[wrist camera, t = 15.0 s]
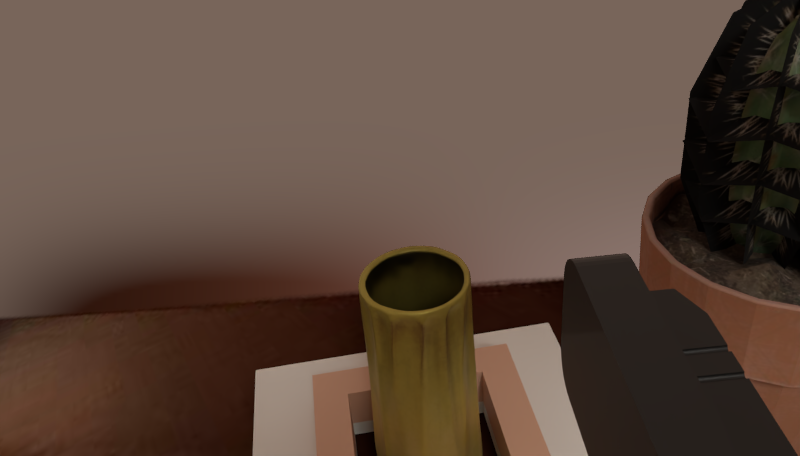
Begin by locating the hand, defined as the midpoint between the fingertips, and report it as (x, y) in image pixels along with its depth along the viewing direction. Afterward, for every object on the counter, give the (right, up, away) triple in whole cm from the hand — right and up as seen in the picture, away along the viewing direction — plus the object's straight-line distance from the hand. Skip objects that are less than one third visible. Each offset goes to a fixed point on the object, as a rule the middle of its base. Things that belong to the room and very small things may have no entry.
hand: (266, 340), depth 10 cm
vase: (+4, -13, +31) cm, 34 cm away
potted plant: (+22, -9, +34) cm, 41 cm away
